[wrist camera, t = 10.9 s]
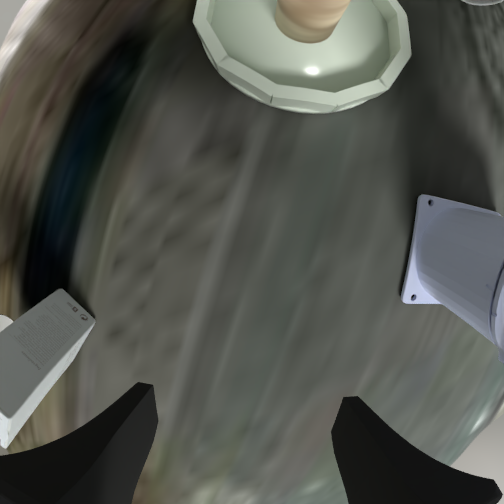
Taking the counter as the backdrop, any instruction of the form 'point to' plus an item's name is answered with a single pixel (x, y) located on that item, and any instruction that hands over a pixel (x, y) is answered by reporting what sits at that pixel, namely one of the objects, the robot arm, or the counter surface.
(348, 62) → the round tray
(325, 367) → the counter surface
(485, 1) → the ceramic mug
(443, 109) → the counter surface
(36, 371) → the skincare box
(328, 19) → the maple cylinder
